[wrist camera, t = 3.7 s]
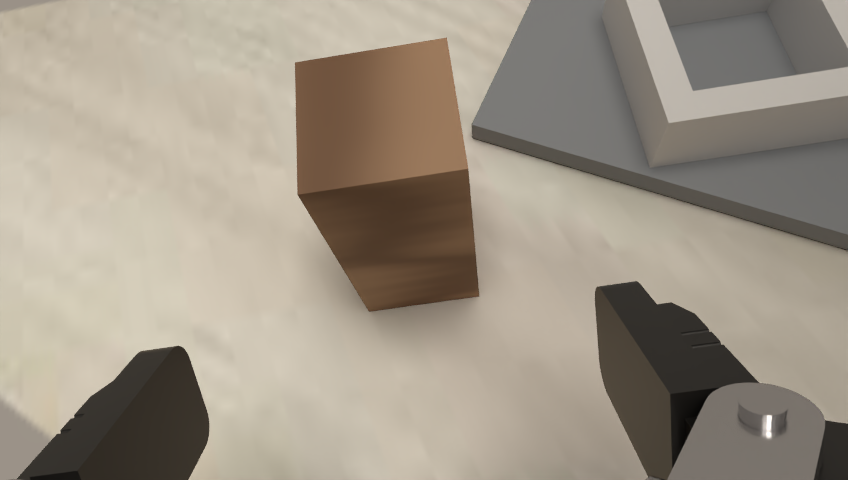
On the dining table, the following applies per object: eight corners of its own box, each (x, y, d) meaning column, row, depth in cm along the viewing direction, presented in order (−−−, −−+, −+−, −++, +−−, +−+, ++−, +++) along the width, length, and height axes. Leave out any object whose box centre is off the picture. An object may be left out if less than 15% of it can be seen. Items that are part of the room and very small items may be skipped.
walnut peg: (464, 199, 26) (446, 37, 17) (478, 296, 24) (468, 168, 15) (362, 214, 26) (294, 62, 17) (369, 311, 24) (297, 195, 15)
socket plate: (959, 35, 26) (1032, -42, 23) (929, 274, 22) (1013, 225, 19) (559, -47, 31) (567, -121, 27) (472, 137, 27) (468, 78, 23)
